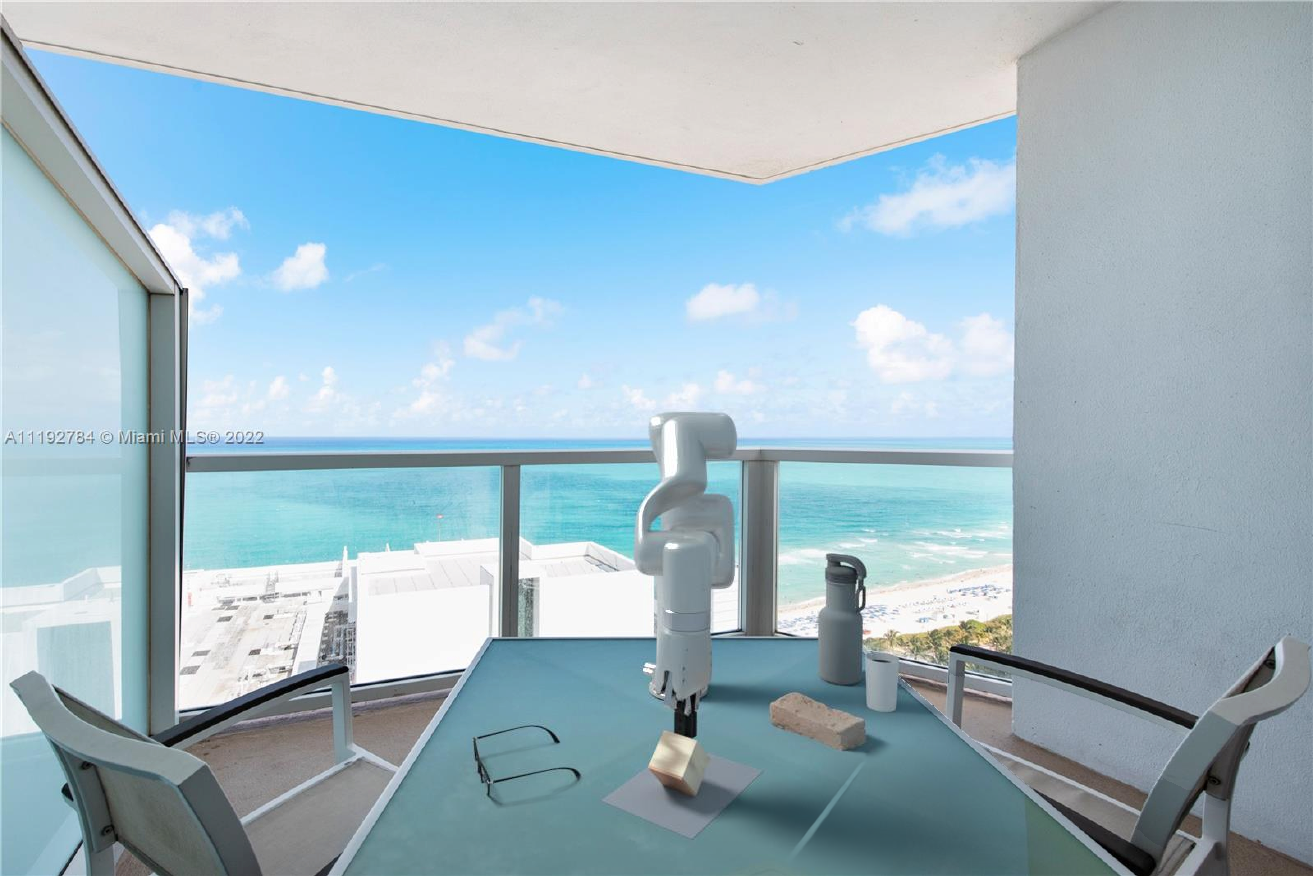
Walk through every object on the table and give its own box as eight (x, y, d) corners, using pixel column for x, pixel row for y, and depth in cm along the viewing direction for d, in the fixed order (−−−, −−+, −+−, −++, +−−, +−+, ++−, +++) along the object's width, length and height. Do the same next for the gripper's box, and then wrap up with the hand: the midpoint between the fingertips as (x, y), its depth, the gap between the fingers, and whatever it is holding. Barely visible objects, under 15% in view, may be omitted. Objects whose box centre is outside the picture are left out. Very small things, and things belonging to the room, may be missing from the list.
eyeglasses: (468, 757, 113) (468, 733, 113) (558, 740, 119) (558, 718, 119) (485, 807, 98) (485, 780, 98) (586, 784, 104) (586, 759, 104)
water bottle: (868, 676, 151) (870, 554, 151) (857, 690, 143) (858, 561, 142) (825, 667, 156) (826, 550, 156) (811, 680, 148) (813, 556, 148)
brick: (868, 742, 119) (868, 716, 119) (843, 757, 114) (843, 730, 114) (793, 713, 131) (793, 690, 131) (767, 725, 126) (767, 701, 126)
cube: (677, 747, 106) (662, 784, 102) (664, 730, 103) (647, 767, 99) (710, 758, 103) (695, 797, 99) (697, 740, 99) (681, 779, 96)
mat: (600, 804, 98) (600, 800, 98) (680, 747, 116) (680, 743, 116) (692, 843, 89) (692, 839, 89) (762, 774, 107) (762, 771, 107)
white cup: (894, 715, 130) (895, 665, 130) (860, 708, 133) (861, 659, 133) (901, 704, 135) (902, 656, 135) (868, 697, 139) (869, 650, 139)
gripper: (691, 605, 110) (690, 713, 110) (638, 626, 98) (637, 748, 98) (730, 612, 106) (729, 725, 106) (681, 635, 94) (679, 763, 94)
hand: (685, 736), depth 102 cm, fingers closed
